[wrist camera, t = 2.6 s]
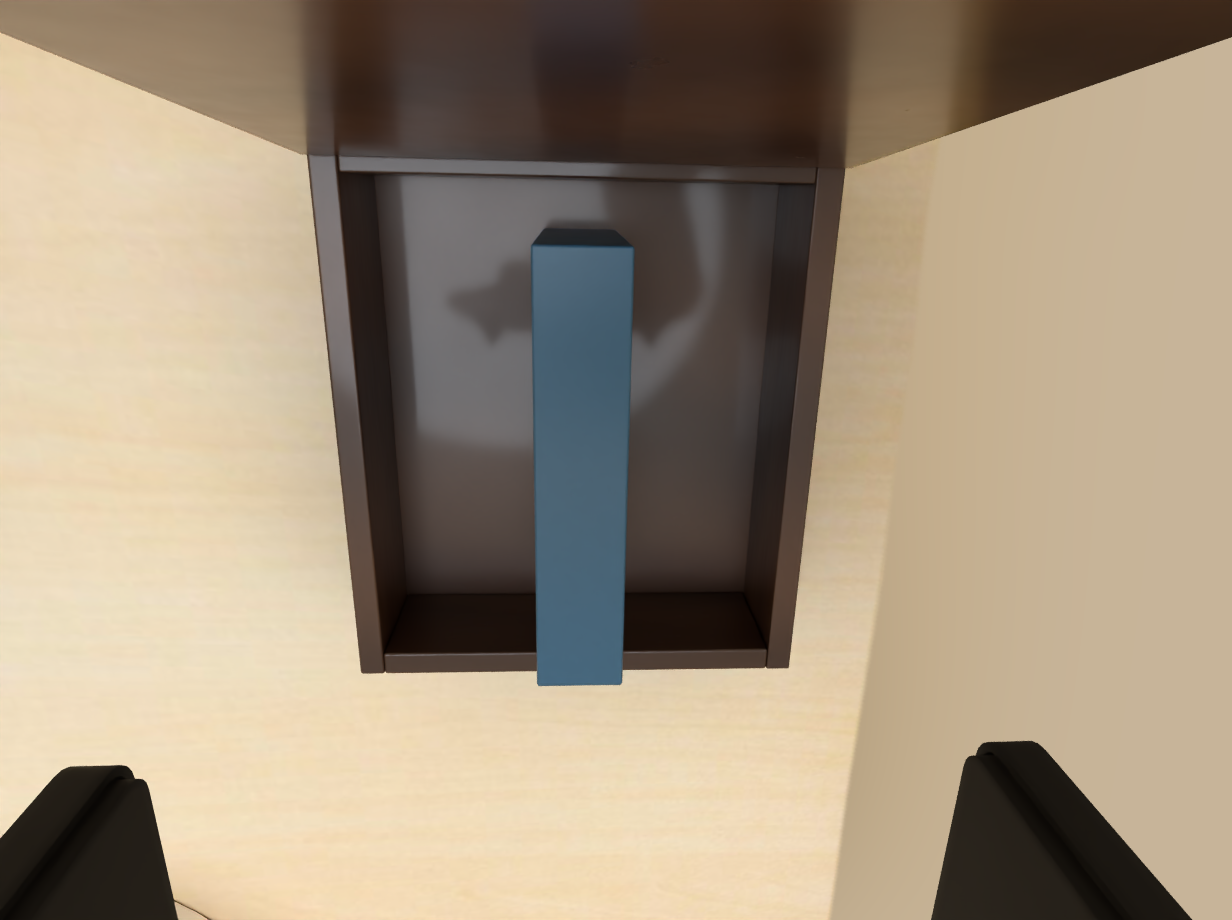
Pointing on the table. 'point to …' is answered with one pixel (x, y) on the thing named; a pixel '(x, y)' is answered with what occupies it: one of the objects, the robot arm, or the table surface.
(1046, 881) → the robot arm
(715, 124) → the lid
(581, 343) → the blue hardcover book
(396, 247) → the box
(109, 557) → the table surface
